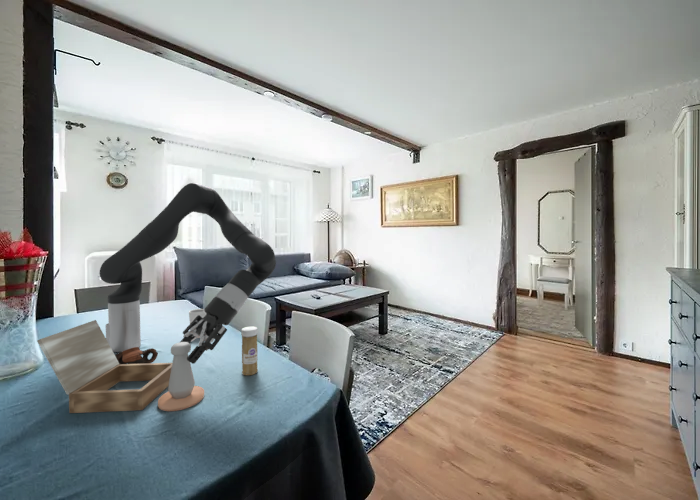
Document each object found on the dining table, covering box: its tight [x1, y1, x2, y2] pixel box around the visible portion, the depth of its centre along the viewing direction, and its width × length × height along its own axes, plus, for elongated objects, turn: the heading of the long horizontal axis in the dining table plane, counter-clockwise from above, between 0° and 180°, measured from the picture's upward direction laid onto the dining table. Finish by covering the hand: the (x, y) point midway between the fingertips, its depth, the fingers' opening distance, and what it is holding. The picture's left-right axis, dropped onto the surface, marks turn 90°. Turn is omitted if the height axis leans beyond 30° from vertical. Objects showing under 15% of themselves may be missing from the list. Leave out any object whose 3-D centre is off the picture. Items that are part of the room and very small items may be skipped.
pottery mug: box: [114, 346, 159, 364], centre depth 90 cm, size 12×10×8 cm
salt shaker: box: [167, 341, 196, 399], centre depth 74 cm, size 6×6×13 cm
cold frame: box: [36, 319, 173, 414], centre depth 76 cm, size 22×16×17 cm
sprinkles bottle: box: [240, 325, 259, 376], centre depth 88 cm, size 5×5×14 cm
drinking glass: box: [188, 308, 206, 336], centre depth 124 cm, size 7×7×10 cm
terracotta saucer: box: [157, 385, 205, 412], centre depth 74 cm, size 10×10×1 cm
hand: (183, 357), depth 74 cm, fingers open, 8 cm apart
